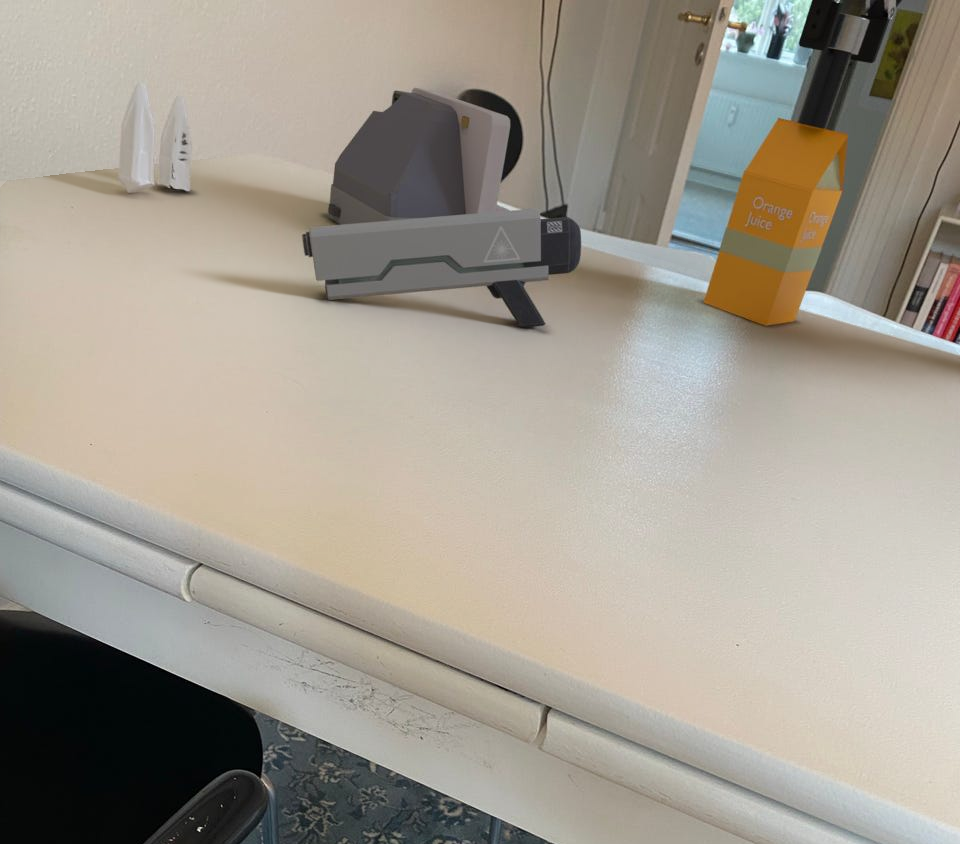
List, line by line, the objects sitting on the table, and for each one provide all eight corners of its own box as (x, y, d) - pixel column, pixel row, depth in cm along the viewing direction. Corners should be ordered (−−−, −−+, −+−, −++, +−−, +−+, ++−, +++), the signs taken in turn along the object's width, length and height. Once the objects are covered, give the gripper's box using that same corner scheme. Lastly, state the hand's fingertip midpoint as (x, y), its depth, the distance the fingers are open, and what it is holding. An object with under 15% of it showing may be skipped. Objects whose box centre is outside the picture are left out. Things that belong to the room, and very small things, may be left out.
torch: (805, 123, 101) (840, 16, 96) (838, 131, 99) (877, 22, 93) (783, 119, 99) (819, 9, 93) (817, 128, 96) (856, 15, 90)
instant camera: (531, 270, 107) (559, 127, 99) (363, 254, 99) (378, 97, 90) (465, 225, 123) (485, 98, 114) (315, 208, 114) (324, 70, 106)
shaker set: (136, 201, 100) (132, 86, 94) (105, 192, 101) (99, 77, 95) (202, 192, 110) (202, 88, 104) (173, 184, 111) (171, 80, 105)
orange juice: (765, 326, 105) (833, 132, 94) (702, 302, 109) (760, 114, 98) (795, 321, 110) (863, 137, 99) (734, 298, 115) (792, 119, 103)
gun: (582, 323, 86) (584, 209, 81) (318, 348, 84) (301, 233, 78) (576, 315, 88) (578, 204, 83) (318, 339, 86) (301, 227, 80)
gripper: (901, -185, 78) (824, 49, 88) (983, -133, 88) (907, 71, 98) (826, -185, 82) (761, 38, 92) (913, -136, 93) (847, 60, 102)
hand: (836, 55), depth 95 cm, fingers open, 9 cm apart
